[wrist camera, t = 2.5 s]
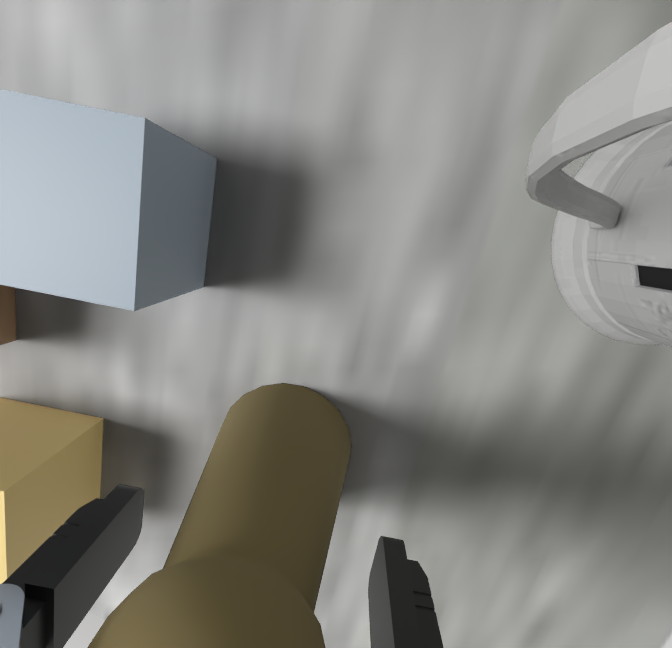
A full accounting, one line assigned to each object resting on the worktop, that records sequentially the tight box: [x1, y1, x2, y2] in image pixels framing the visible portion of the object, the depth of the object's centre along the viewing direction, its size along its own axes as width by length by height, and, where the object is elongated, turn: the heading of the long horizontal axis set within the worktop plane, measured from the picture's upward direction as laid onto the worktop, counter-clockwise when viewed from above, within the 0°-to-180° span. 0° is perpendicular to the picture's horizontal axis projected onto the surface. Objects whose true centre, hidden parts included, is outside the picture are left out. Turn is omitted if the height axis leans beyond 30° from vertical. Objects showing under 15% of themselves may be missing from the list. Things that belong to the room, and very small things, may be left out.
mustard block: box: [0, 398, 103, 584], centre depth 15 cm, size 5×5×5 cm
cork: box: [88, 383, 352, 648], centre depth 11 cm, size 6×6×11 cm
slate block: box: [0, 89, 217, 311], centre depth 12 cm, size 5×5×5 cm
